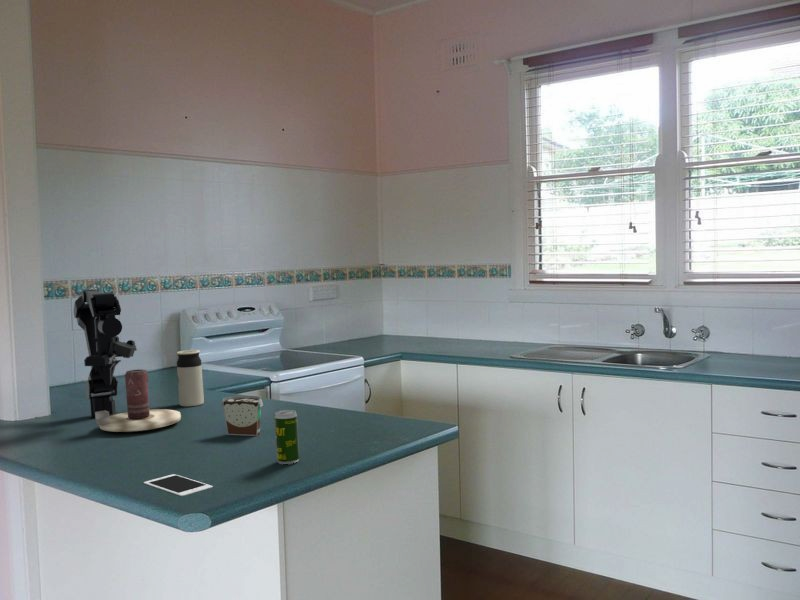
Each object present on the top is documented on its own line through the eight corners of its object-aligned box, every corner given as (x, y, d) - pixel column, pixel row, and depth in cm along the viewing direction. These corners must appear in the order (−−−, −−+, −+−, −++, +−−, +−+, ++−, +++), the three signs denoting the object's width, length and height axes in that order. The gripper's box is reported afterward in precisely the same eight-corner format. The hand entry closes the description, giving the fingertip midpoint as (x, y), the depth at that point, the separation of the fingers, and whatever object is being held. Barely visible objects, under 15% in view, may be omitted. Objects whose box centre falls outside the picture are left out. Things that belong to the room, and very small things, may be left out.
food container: (272, 430, 223) (270, 395, 222) (262, 436, 217) (260, 399, 216) (234, 429, 227) (232, 394, 226) (222, 434, 221) (220, 398, 220)
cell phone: (182, 498, 166) (181, 495, 166) (142, 484, 177) (142, 482, 177) (213, 488, 172) (213, 486, 172) (174, 476, 183) (173, 473, 183)
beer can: (289, 457, 193) (286, 408, 192) (304, 460, 190) (301, 411, 189) (272, 462, 189) (269, 413, 188) (287, 466, 186) (284, 415, 185)
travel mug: (207, 401, 270) (204, 349, 269) (199, 406, 263) (195, 352, 261) (184, 402, 271) (181, 350, 270) (175, 407, 263) (172, 353, 262)
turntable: (111, 436, 219) (109, 418, 219) (85, 423, 238) (84, 407, 237) (193, 421, 234) (192, 404, 234) (163, 410, 252) (162, 395, 252)
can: (152, 417, 235) (148, 370, 233) (129, 420, 232) (126, 373, 231) (148, 413, 240) (145, 368, 239) (126, 416, 237) (123, 370, 236)
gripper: (119, 337, 232) (122, 389, 234) (142, 329, 251) (145, 378, 252) (81, 338, 233) (85, 391, 234) (108, 330, 252) (111, 379, 253)
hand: (108, 384), depth 243 cm, fingers closed
